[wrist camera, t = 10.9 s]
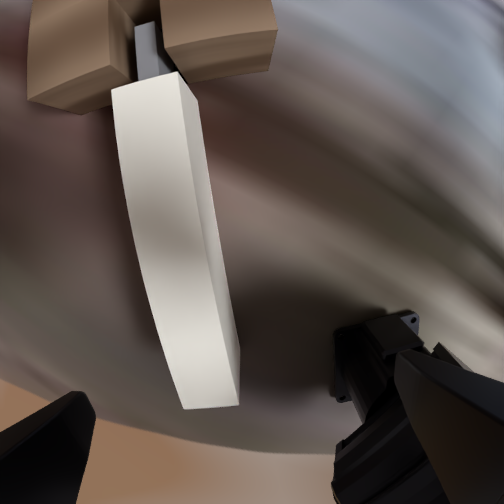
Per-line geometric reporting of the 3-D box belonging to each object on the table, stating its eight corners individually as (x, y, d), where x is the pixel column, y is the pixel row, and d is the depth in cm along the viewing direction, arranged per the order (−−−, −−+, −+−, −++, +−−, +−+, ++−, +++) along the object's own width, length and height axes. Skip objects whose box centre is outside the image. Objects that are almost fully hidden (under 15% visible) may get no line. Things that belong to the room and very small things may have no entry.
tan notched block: (268, 70, 17) (277, 29, 11) (81, 115, 17) (27, 100, 11) (242, -46, 14) (242, -99, 8) (78, -2, 14) (39, -38, 9)
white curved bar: (240, 347, 21) (239, 405, 15) (197, 352, 21) (183, 409, 15) (190, 50, 16) (170, 7, 10) (144, 62, 16) (108, 25, 11)
